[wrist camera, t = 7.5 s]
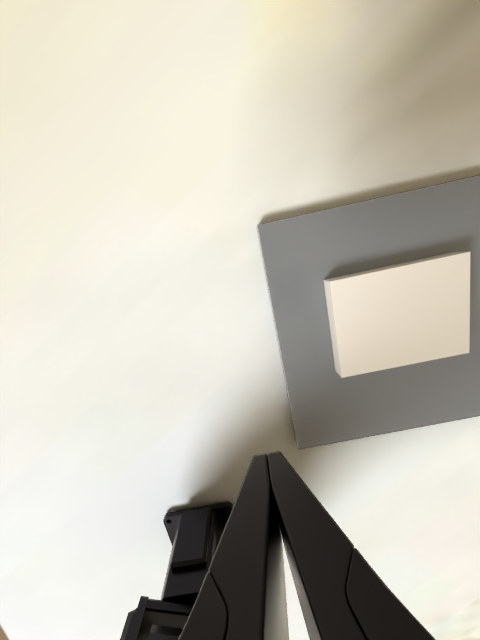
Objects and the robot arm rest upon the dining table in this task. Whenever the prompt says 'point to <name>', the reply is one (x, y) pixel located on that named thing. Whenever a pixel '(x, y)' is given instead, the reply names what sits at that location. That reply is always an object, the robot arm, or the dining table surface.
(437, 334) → the tile
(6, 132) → the dining table surface
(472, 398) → the slate board
